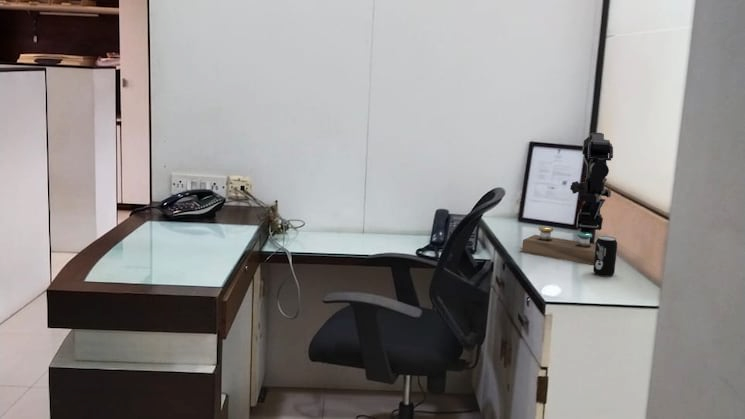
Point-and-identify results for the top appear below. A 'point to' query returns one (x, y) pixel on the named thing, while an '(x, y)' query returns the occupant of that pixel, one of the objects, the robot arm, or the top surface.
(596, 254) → the beverage can
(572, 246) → the walnut block
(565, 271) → the top surface
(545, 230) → the plunger ochre
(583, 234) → the plunger teal
